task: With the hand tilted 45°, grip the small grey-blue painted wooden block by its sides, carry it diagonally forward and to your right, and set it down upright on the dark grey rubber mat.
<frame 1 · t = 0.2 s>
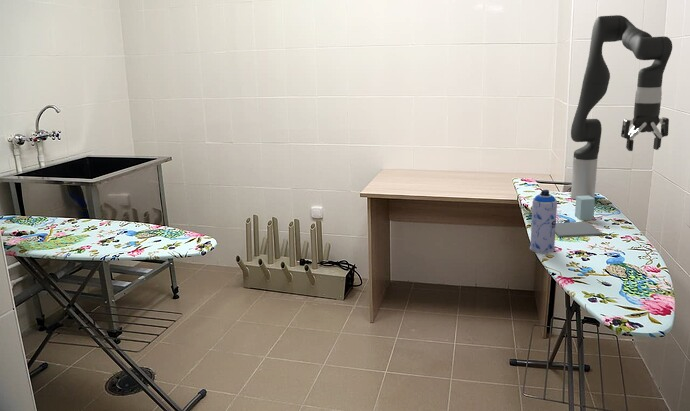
hand: (642, 150, 190), 29 cm above the table, tool pointing down, fingers open, 8 cm apart
block: (584, 217, 216), on the table
aerosol can: (542, 249, 187), on the table
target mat: (573, 229, 204), on the table
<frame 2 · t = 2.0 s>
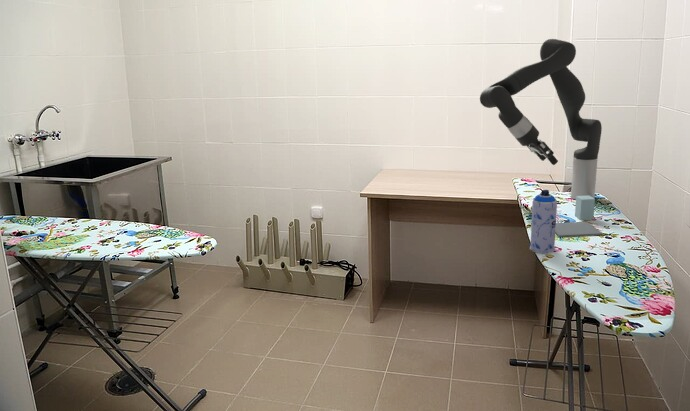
hand: (550, 161, 208), 23 cm above the table, tool tilted 40°, fingers open, 8 cm apart
nothing on the table moved.
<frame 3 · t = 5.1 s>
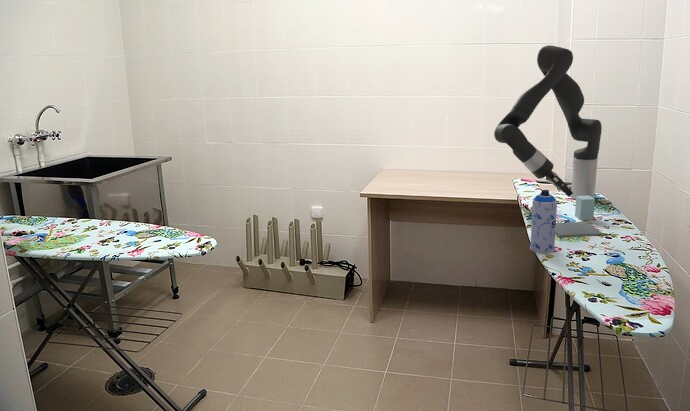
hand: (566, 191, 213), 10 cm above the table, tool tilted 45°, fingers open, 8 cm apart
nothing on the table moved.
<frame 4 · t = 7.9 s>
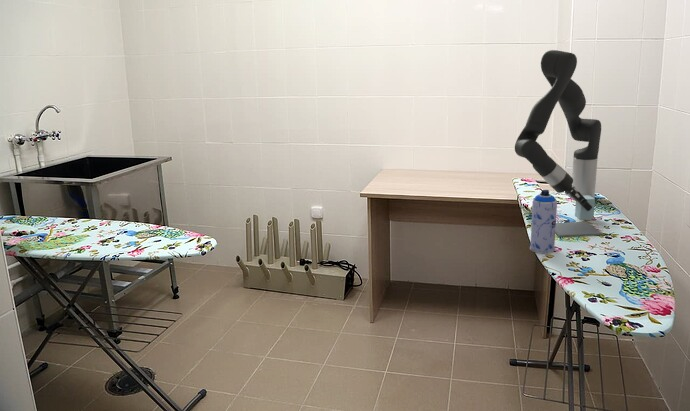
hand: (587, 206, 215), 4 cm above the table, tool tilted 45°, fingers closed on block, 5 cm apart
block: (584, 217, 216), on the table, touching gripper
everything else where it was.
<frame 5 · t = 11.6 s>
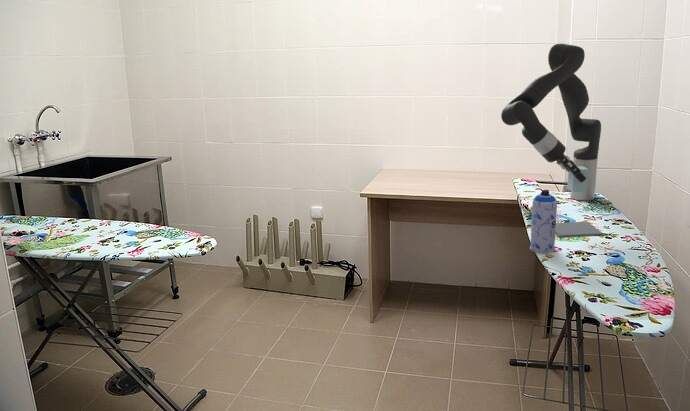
hand: (580, 178, 199), 19 cm above the table, tool tilted 45°, fingers closed on block, 5 cm apart
block: (577, 190, 201), point 14 cm above the table, touching gripper
everything else where it was.
when the fingers open (6 cm above the table, at t = 15.2 s): block drops 1 cm, resting on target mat.
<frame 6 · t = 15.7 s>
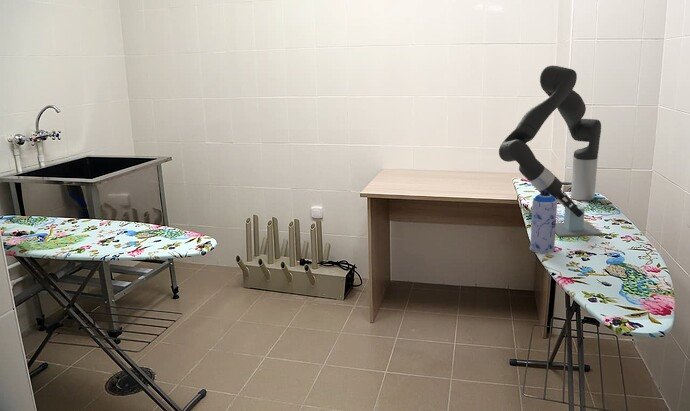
hand: (575, 211, 202), 7 cm above the table, tool tilted 45°, fingers open, 8 cm apart
block: (573, 228, 203), point 1 cm above the table, touching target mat
everything else where it was.
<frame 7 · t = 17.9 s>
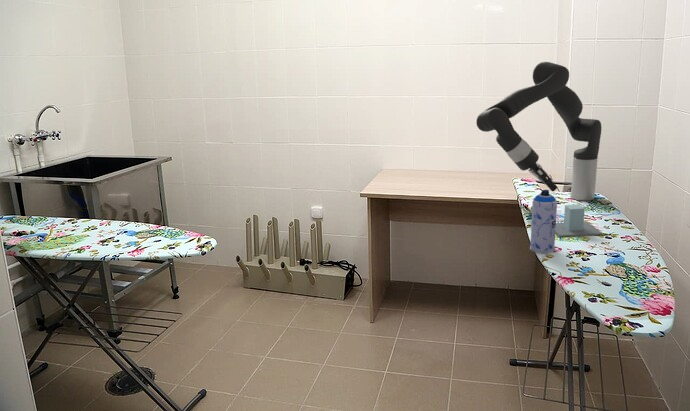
hand: (550, 186, 200), 16 cm above the table, tool tilted 40°, fingers open, 8 cm apart
nothing on the table moved.
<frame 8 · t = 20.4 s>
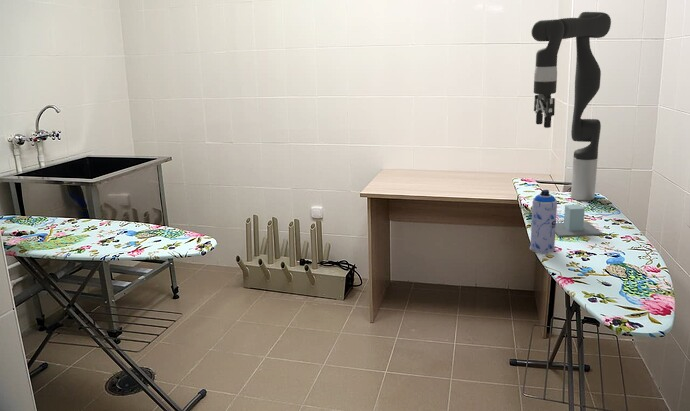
hand: (543, 125, 204), 36 cm above the table, tool pointing down, fingers open, 8 cm apart
nothing on the table moved.
at the end: block inside the target area on the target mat (0.2 cm from its centre), point 0.6 cm above the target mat's base; block tilted 0°; the gripper is holding nothing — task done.
